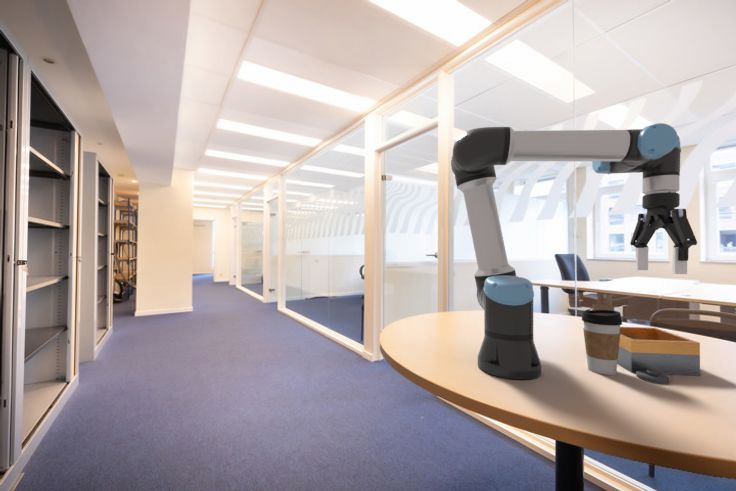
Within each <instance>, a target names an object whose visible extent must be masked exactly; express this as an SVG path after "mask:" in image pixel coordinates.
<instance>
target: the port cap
mask: <svg viewBox="0 0 736 491" xmlns="http://www.w3.org/2000/svg"><path fill="white" fill-rule="evenodd" d="M635 375H636V377H637V379H640V380H642V381H643V382H644V381H645V382H649V383H653V384H658V385H659V384H660V385H669V384H671V380H670V376H668V375H667V374H661V373H658V371H656V370H652V369H647V371H646V370H639V371H636V373H635Z"/></svg>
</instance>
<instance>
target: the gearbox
mask: <svg viewBox="0 0 736 491" xmlns="http://www.w3.org/2000/svg"><path fill="white" fill-rule="evenodd" d="M700 348H701V343H700V342H699V341H695V340H693V339H689V338H687V337H684V336H681V335H678V334H676V333H673V332H669V331H666V330H663V329H660V328H658V327H644V326H643V327H641V326H620V342H619V351H618V359H617V366H620V367H621V368H623V369H625V370H627V372H628V371H629V372H630V373H635V374H636V371H639V370H646V371H647V369H652V370H656V371H658V373H661V374H664V375H675V376H677V375H678V376H697V377H700V376H701V349H700Z"/></svg>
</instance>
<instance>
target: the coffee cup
mask: <svg viewBox="0 0 736 491" xmlns="http://www.w3.org/2000/svg"><path fill="white" fill-rule="evenodd" d="M581 320H582V321H583V337H584V345H585V354H586V361H587V362H586V364H587V369H588V370H589V371H591V372H594V373H596V374H600V375H606V376H607V375H608V376H609V375H610V376H611V375H612V376H613V375H616V374H617V370H618V368H617V367H618V364H617V359H618V351H619V342H620V327H621V325H623V320H622V315H621V312H620V311H618V310H611V309H588V310H583V312H582V316H581Z"/></svg>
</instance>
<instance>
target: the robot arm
mask: <svg viewBox="0 0 736 491" xmlns="http://www.w3.org/2000/svg"><path fill="white" fill-rule="evenodd" d="M452 148H453V149H452V156H451V160H450V161H451V162H450V166H451V171H452V172H453V174H454V179H455V184H456V189H457V190H459V191H461V192H462V193H463V197H464V202H465V203H464V204H465V209H466V214H467V219H468V222H469V223H468V224H469V227H470V233H471V238H472V244H473V248H474V253H475V259H476V264H477V270H476V272H475V273H474V274H473V275H474V280H475V285H476V298H477V302H478V304H479V306H480V307H481V309H483V311H484V312H483V313H484V320H483V324H484V328H483V329H484V336H483V340H482V342H481V345H480V349H479V351H478V354H477V367H478V368H479V369H480V370H481V371H483V372H485V373H487V374H489V375H493V376H495V377H499V378H503V379H509V380H532V379H536V378H539V377H540V376H541V375H542V368H543V367H542V361H541V359H540V356H539V354H538V351H537V348H536V344H535V341H534V296H535V292H534V288H533V287H534V285H533V283H532V281H531V280H529V279H527V278H525V277H519V276H517V273H516V269H515V268H514V267H513V266H511V265H510V264H509V262H508V257H507V252H506V251H507V250H506V247H505V243H504V242H505V241H504V237H503V236H504V235H503V232H502V227H501V222H500V217H499V216H500V215H499V213H498V212H499V211H498V208H497V202H496V197H495V196H496V195H495V192H494V187H493V186H494V183H496V181H497V174H496V169H495V166H507V165H508V164H509V163H511V162H592V163H591V164H592V169H593V171H594V172H595V173H596V174H605V175H606V174H607V175H610V174H633V173H636V174H637V173H642V188H641V189H642V190H641V192H642V194H644V195H643V196H642V198H641V199H642V206H641V207H642V208H643V209H644V210H647V211H646V213H638V214H637V222H636V225H635V227H634V232H633V234H632V236H631V239H630V243H629V244H630V245H631V246H634V248H635V262H636V263H635V270H636V271H649V246H648V244H649V242H650V241H651V239H652V237H653V236H654V234H655V232H656V231H658V230H659V229H664V231H665V232H666V233H667V234H668V236H669V238H670V240H672V242H673V244H674V245H673V246H672V247H673V248H672V274H673V275H688V261H689V249H690V248H691V247H692V246H696V245H697V244H698V241H697V238H696V235H695V233H694V230H693V229H692V226H691V224H690V222H689V219H688V216H687V209H686V208H678V207H680V193H678V192H679V191H680V176H681V175H680V173H681V153H682V149H681V139H680V136H679V135H678V132H677V131H676V130H675V128H674V127H673V126H671V125H669V124H667V123H662V122H659V123H653V124H651V125H647V126H646V127H645V126H644V128H642V129H641V128H639V129H636V128H635V129H587V130H585V129H581V130H579V129H578V130H577V129H575V130H573V129H572V130H571V129H570V130H564V129H562V130H514V129H513V127H511V126H485V127H477V128H472V129H469V130H467V131H465V132H463V133H462V134H461V135H459V137H458V138H457V139H456V141H455V142H454V144H453V147H452Z"/></svg>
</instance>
